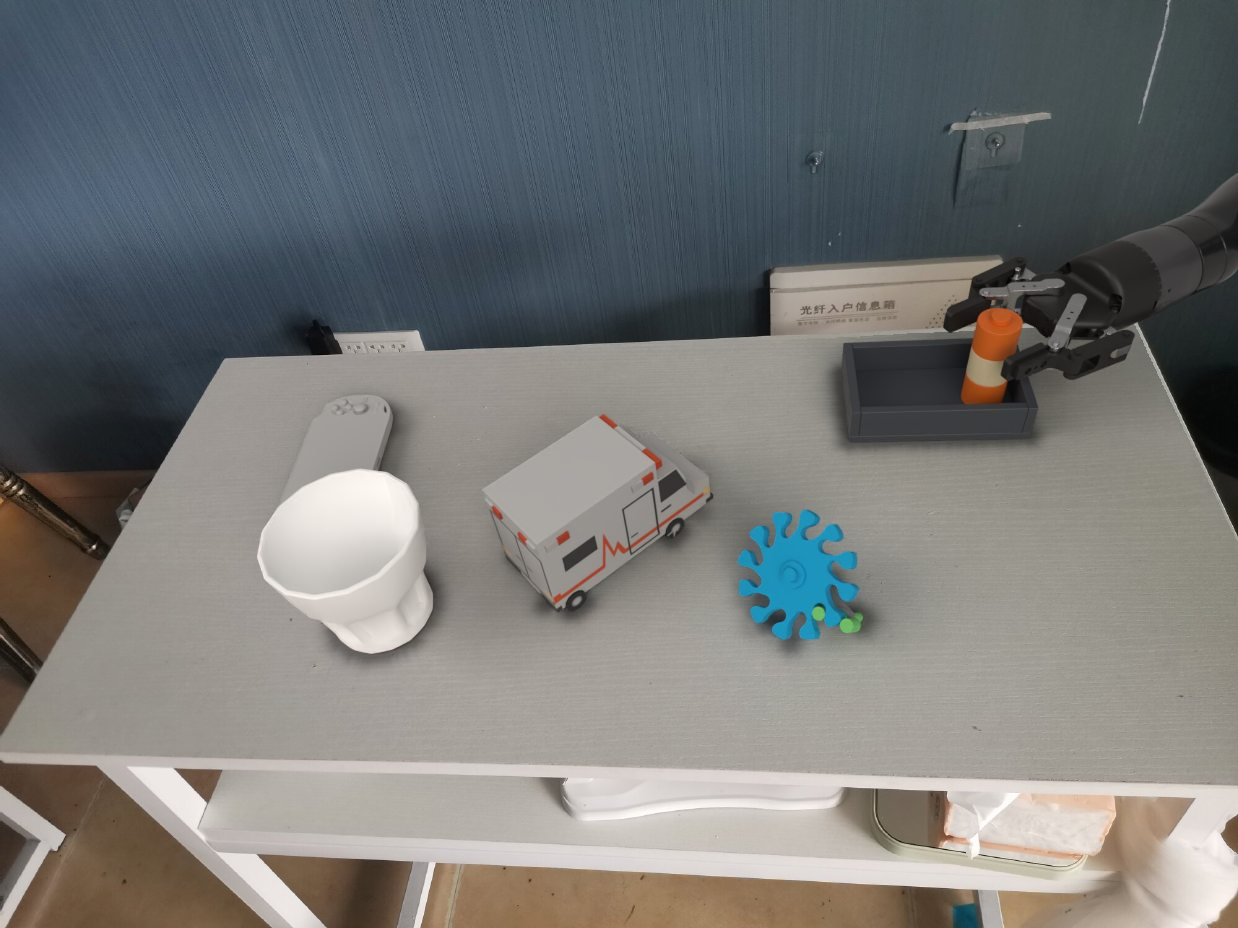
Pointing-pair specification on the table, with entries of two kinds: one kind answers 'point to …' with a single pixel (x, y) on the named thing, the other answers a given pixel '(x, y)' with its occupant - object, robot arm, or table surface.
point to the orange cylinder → (990, 355)
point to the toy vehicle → (591, 506)
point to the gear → (801, 578)
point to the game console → (342, 440)
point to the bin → (925, 394)
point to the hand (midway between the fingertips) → (975, 345)
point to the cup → (352, 558)
